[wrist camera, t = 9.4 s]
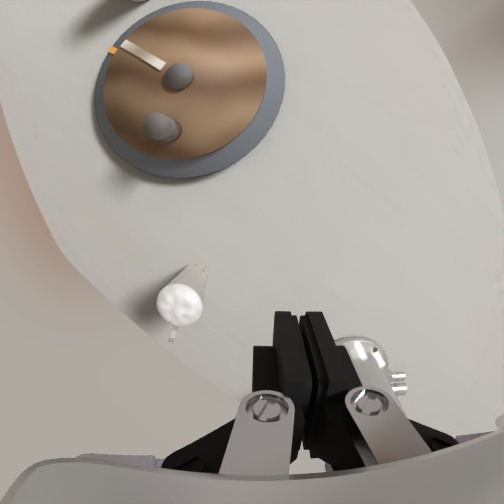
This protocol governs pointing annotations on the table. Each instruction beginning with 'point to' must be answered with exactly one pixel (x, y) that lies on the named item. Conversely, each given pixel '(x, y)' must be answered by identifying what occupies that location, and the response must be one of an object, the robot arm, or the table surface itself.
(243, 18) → the base plate
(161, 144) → the dial
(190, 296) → the milkshake
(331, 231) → the table surface
